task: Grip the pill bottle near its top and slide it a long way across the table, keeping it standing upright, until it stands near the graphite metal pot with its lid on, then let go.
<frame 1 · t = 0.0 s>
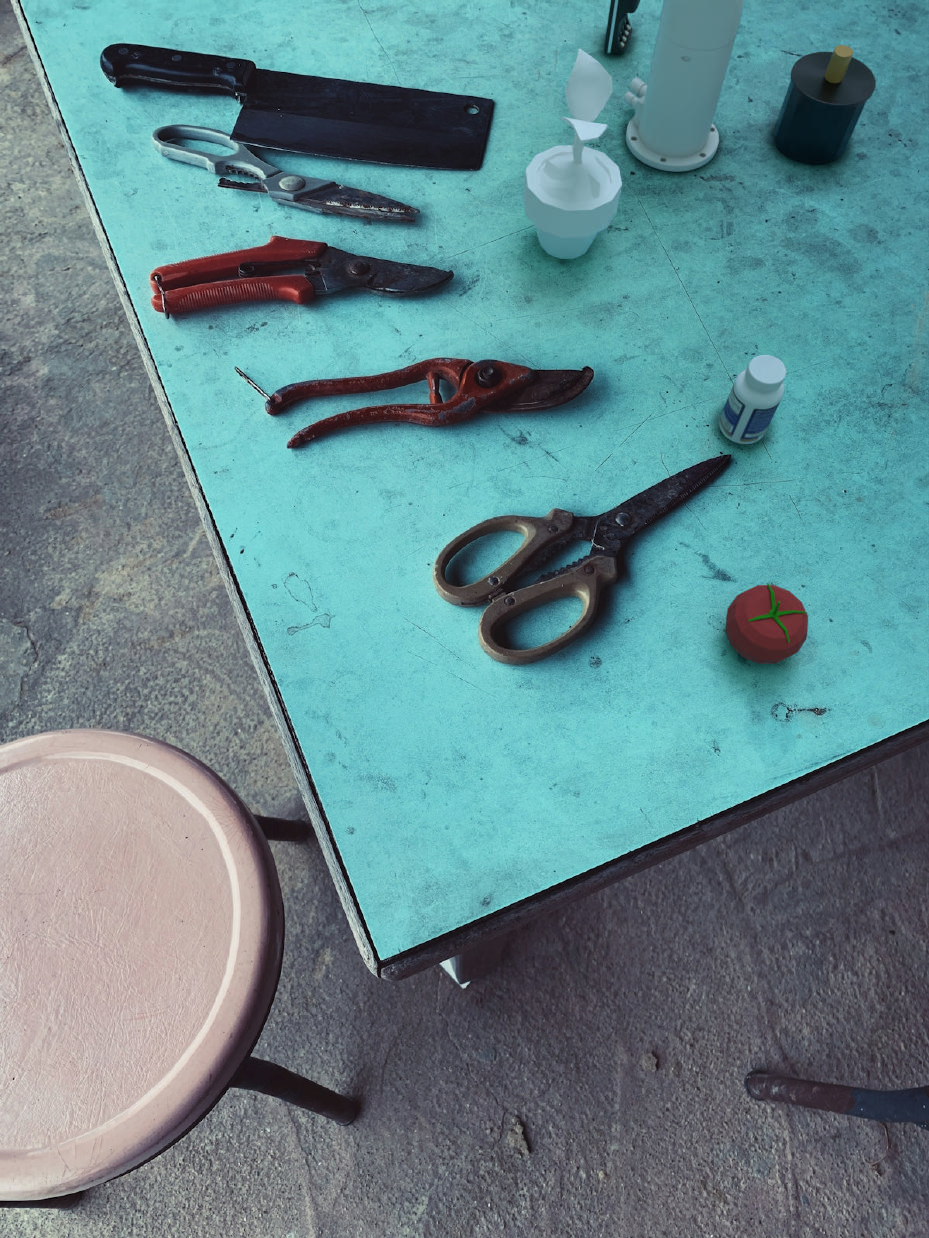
battery charger: (620, 44, 137), on the table
tomato: (755, 639, 94), on the table
pill bottle: (741, 427, 106), on the table
pot lid: (832, 81, 120), point 8 cm above the table, touching pot
pot: (809, 140, 128), on the table
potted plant: (563, 247, 118), on the table
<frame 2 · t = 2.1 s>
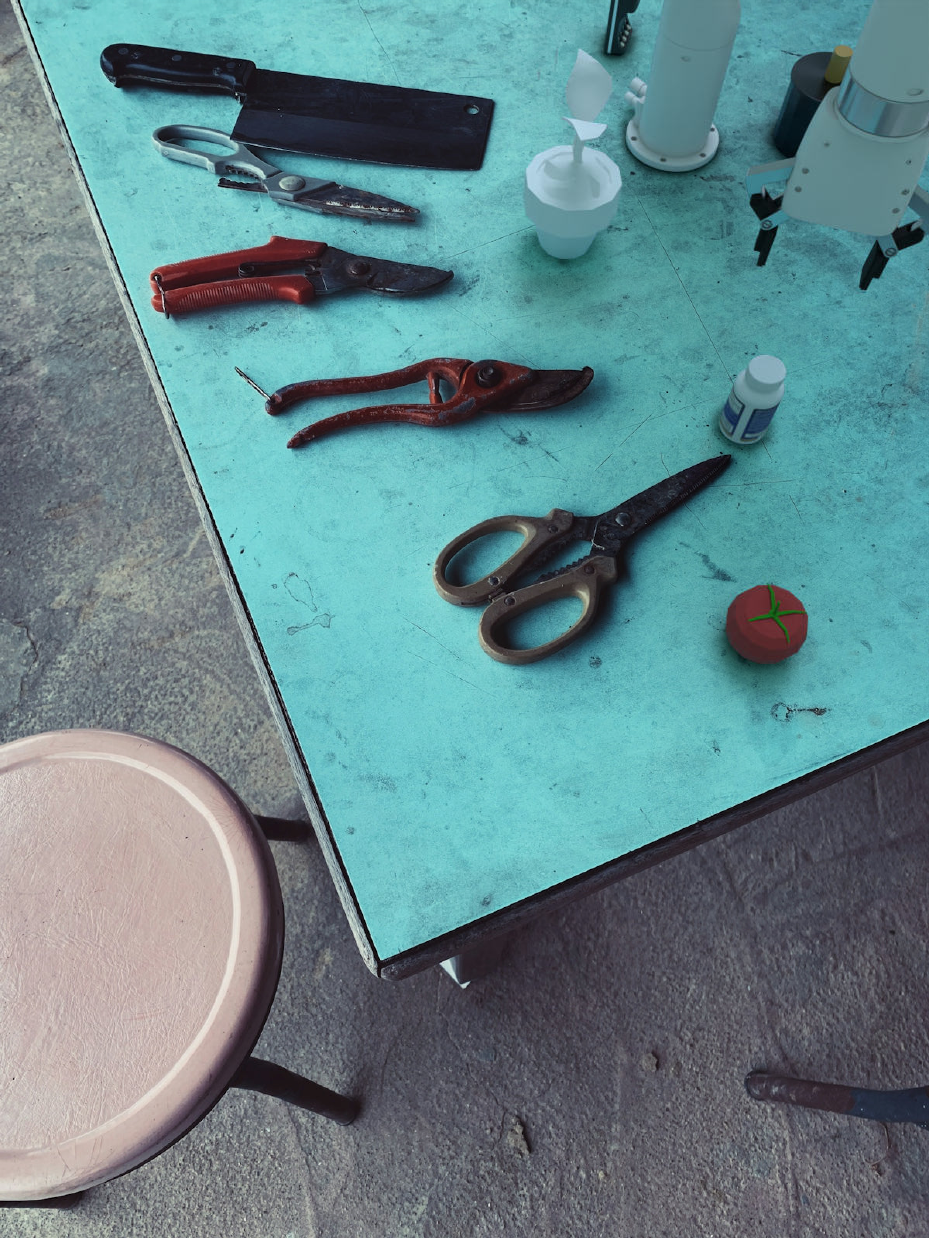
hand: (812, 268, 88), 21 cm above the table, tool pointing down, fingers open, 9 cm apart
nothing on the table moved.
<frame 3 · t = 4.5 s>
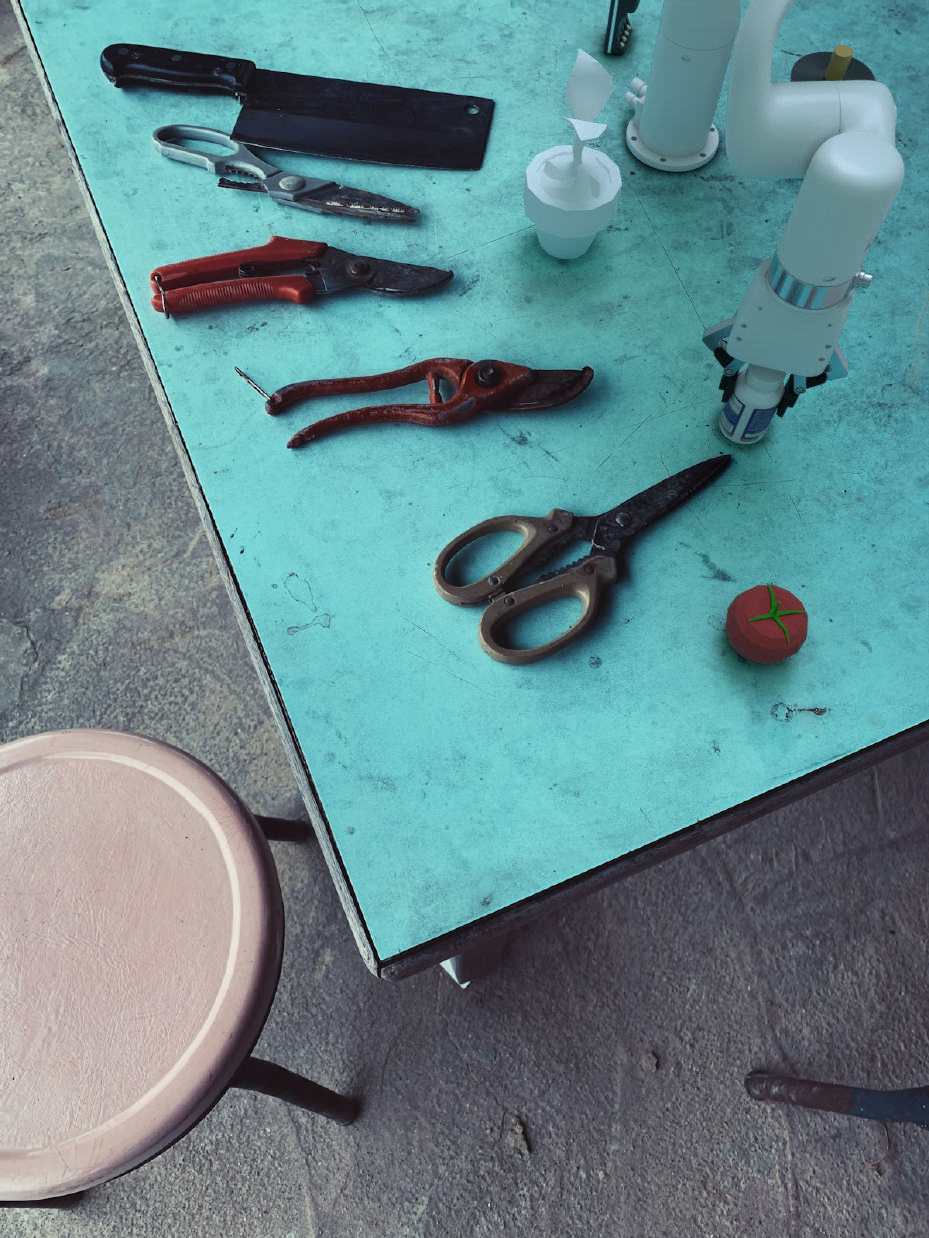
hand: (754, 399, 102), 5 cm above the table, tool pointing down, fingers closed on pill bottle, 5 cm apart
pill bottle: (741, 427, 106), on the table, touching gripper
everything else where it was.
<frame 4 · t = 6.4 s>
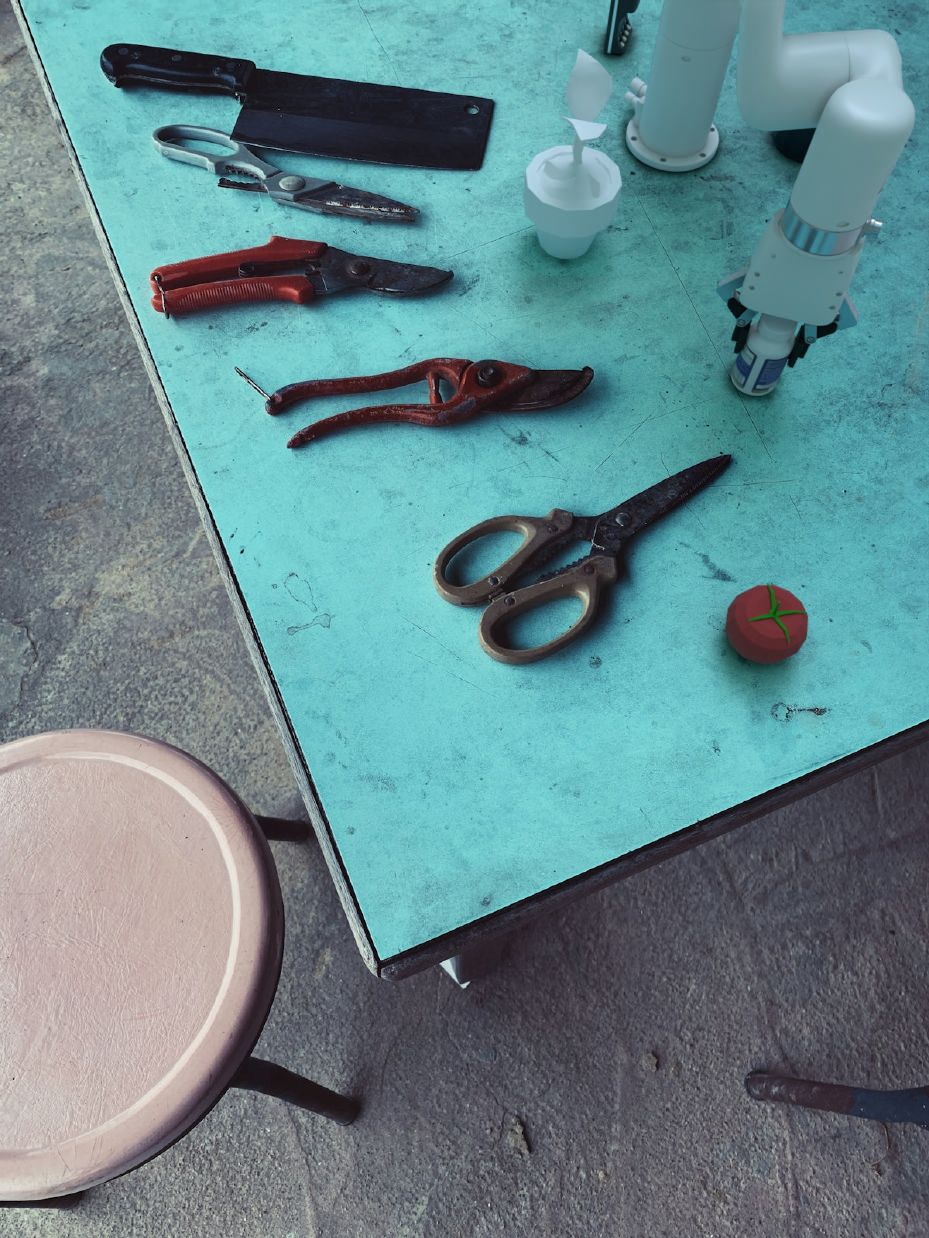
hand: (765, 350, 104), 5 cm above the table, tool pointing down, fingers closed on pill bottle, 5 cm apart
pill bottle: (752, 380, 109), on the table, touching gripper
everything else where it was.
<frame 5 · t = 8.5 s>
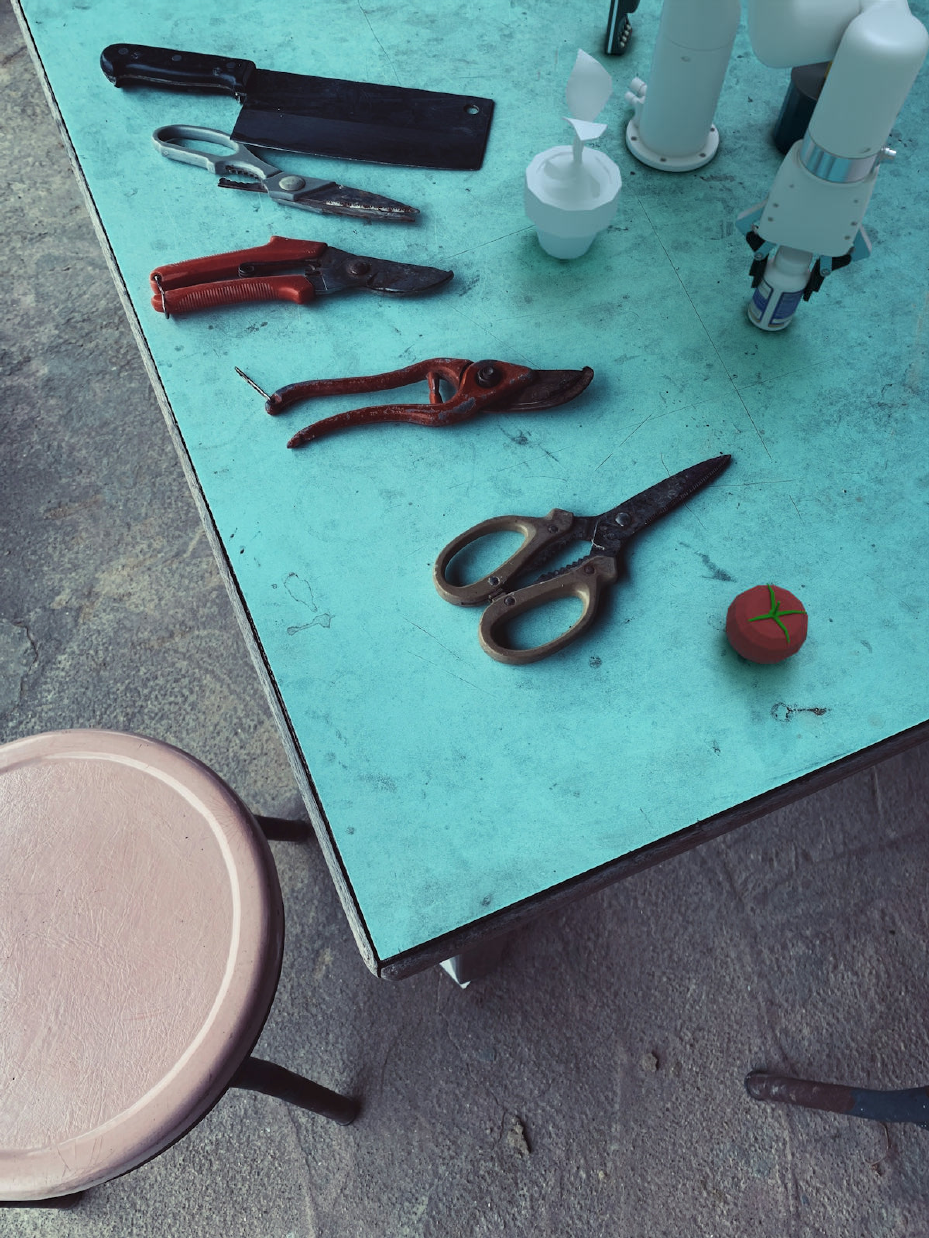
hand: (781, 285, 109), 5 cm above the table, tool pointing down, fingers closed on pill bottle, 5 cm apart
pill bottle: (768, 316, 113), on the table, touching gripper
everything else where it was.
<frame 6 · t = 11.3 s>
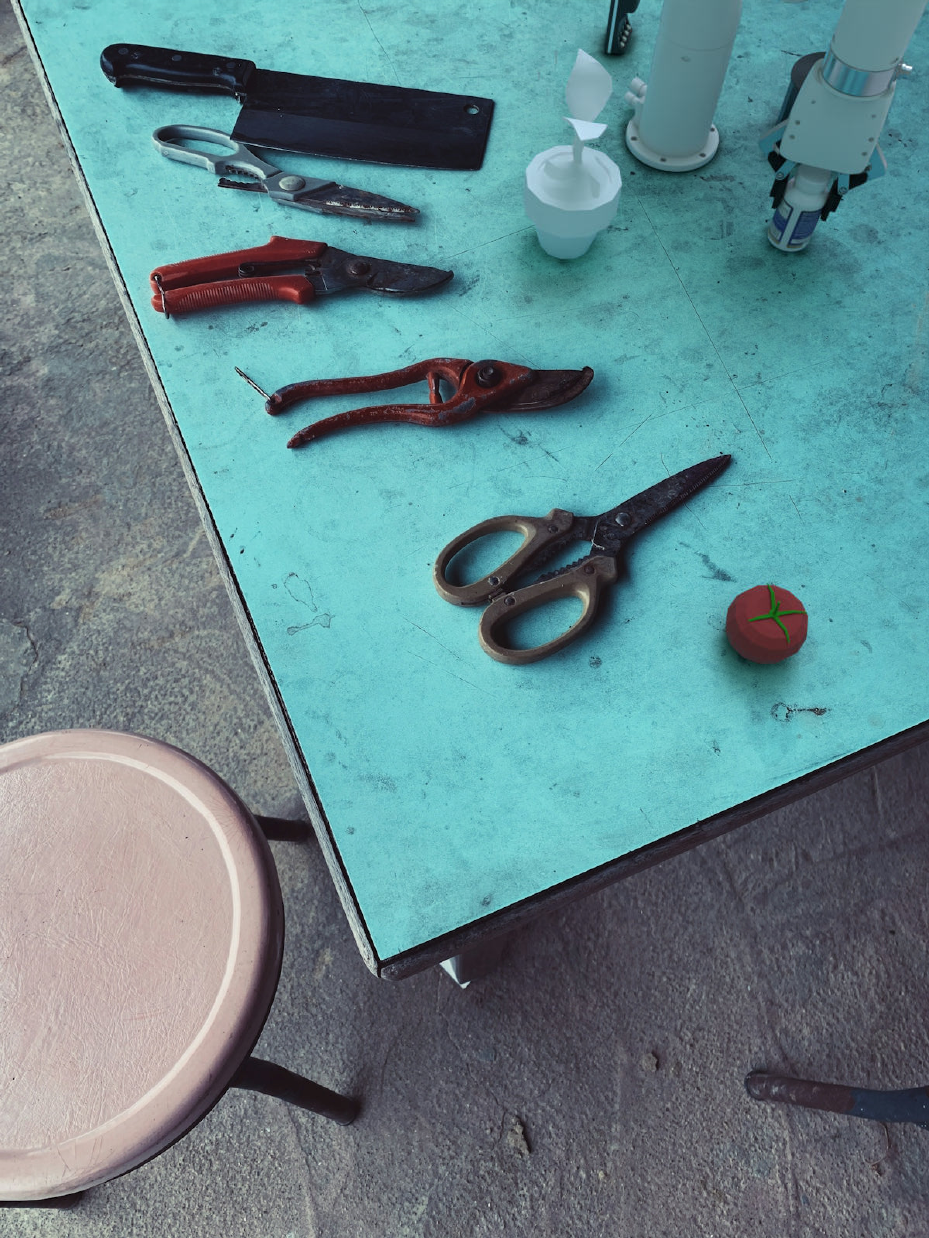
hand: (800, 206, 115), 5 cm above the table, tool pointing down, fingers closed on pill bottle, 5 cm apart
pill bottle: (786, 239, 119), on the table, touching gripper
everything else where it was.
when the fingers open (5 cm above the table, at t = 13.0 s): pill bottle stays where it is, on the table.
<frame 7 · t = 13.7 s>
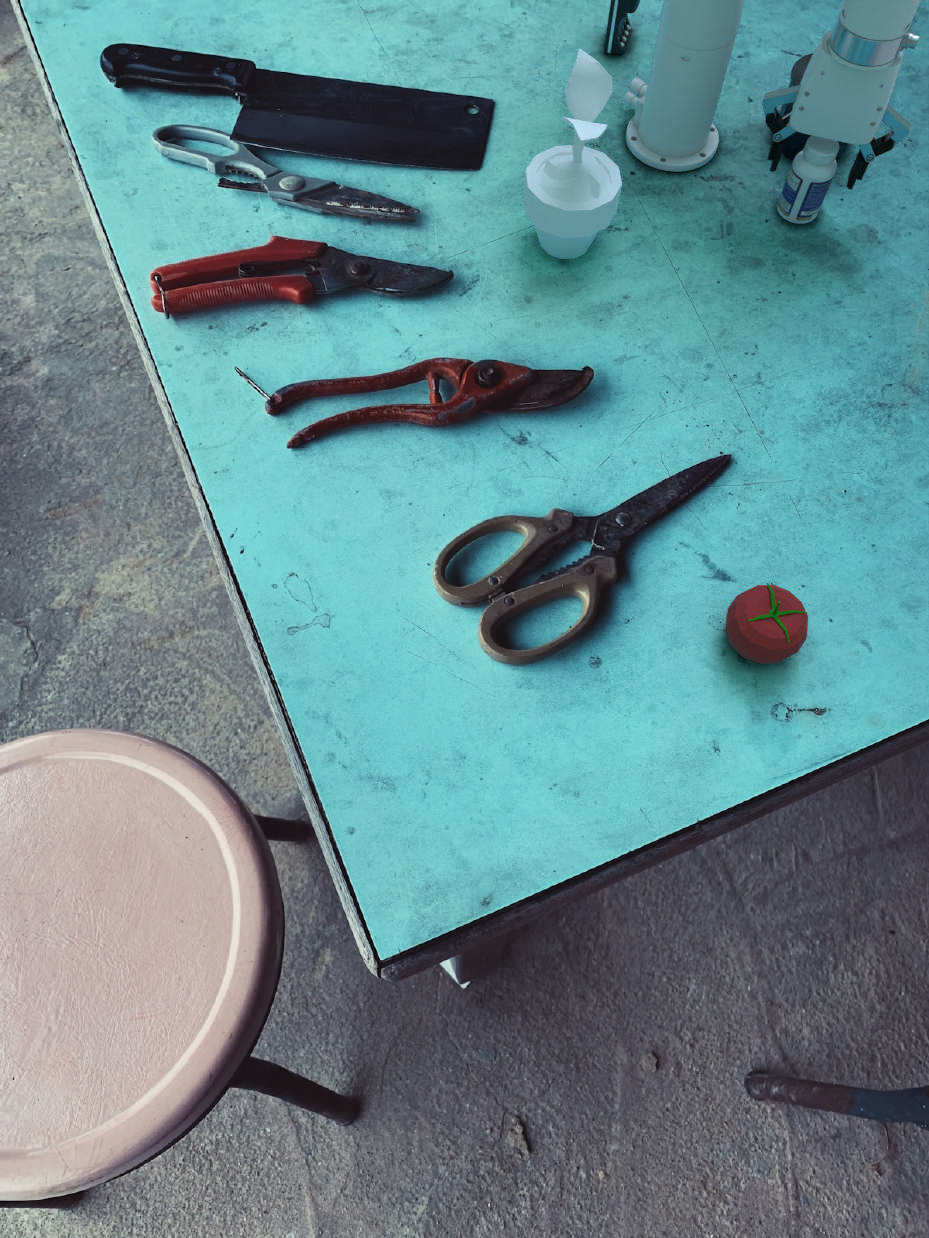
hand: (811, 173, 116), 6 cm above the table, tool pointing down, fingers open, 9 cm apart
pill bottle: (796, 212, 122), on the table
everything else where it was.
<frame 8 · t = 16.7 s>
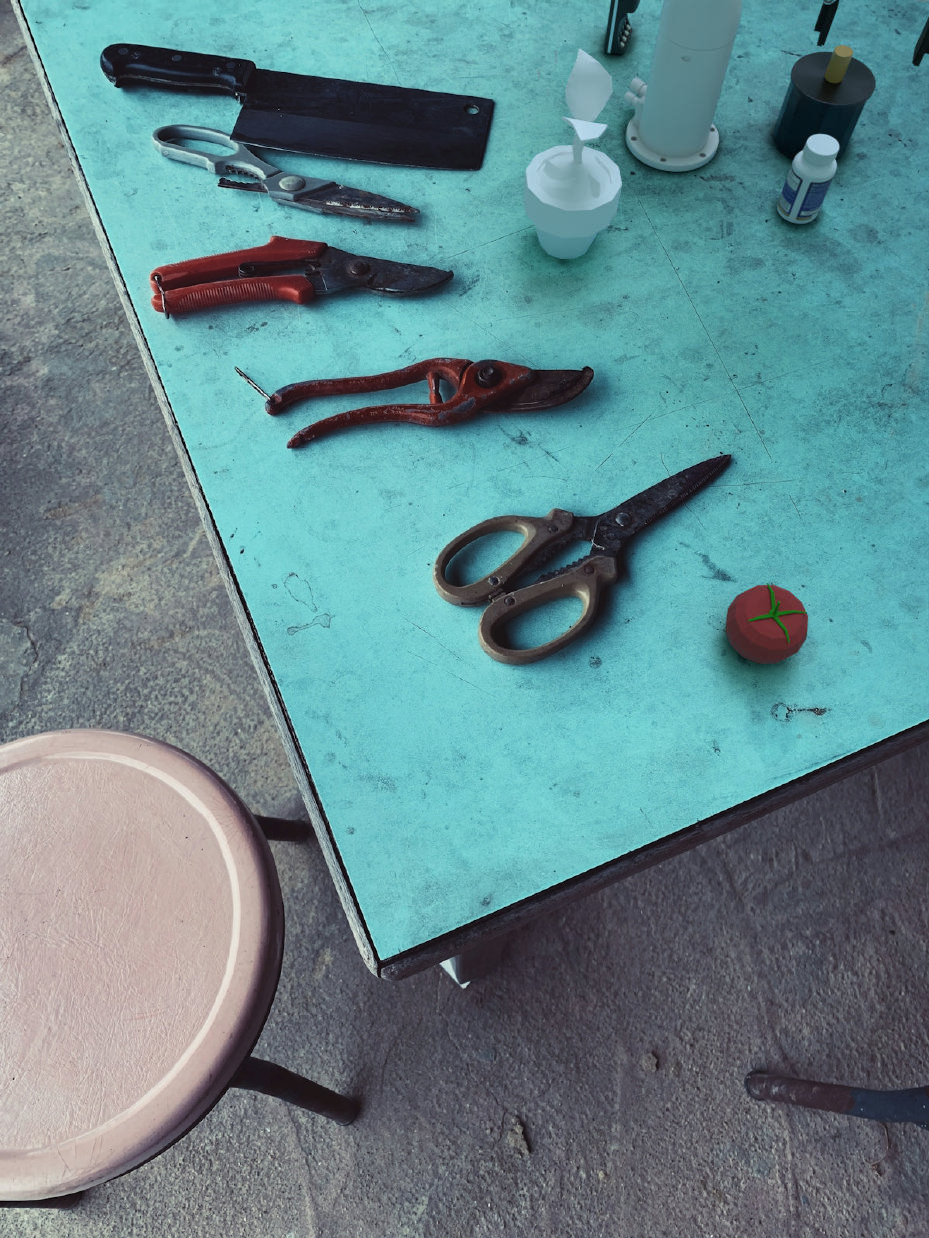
hand: (868, 48, 95), 26 cm above the table, tool pointing down, fingers open, 9 cm apart
nothing on the table moved.
at the end: pill bottle 14.4 cm from the pot (horizontally); pill bottle moved 37.2 cm from its start; pill bottle tilted 0°; the gripper is holding nothing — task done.
